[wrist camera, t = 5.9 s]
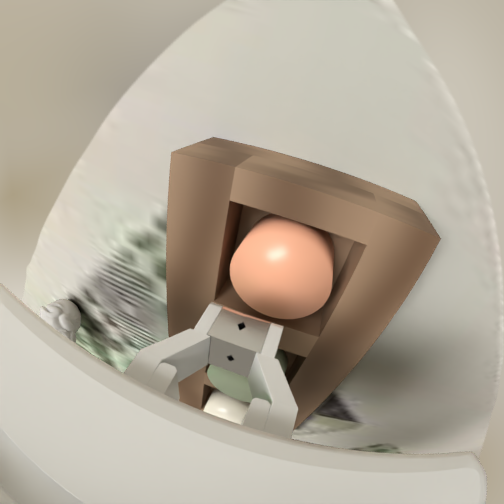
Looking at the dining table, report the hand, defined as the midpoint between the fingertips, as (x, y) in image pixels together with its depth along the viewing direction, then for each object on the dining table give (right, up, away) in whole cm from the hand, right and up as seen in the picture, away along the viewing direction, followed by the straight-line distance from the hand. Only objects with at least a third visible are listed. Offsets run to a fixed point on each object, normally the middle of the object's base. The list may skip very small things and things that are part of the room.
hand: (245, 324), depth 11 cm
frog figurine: (-23, -5, +20) cm, 31 cm away
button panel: (+1, -3, +10) cm, 11 cm away
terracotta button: (+2, +3, +4) cm, 5 cm away
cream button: (-1, -11, +12) cm, 16 cm away
